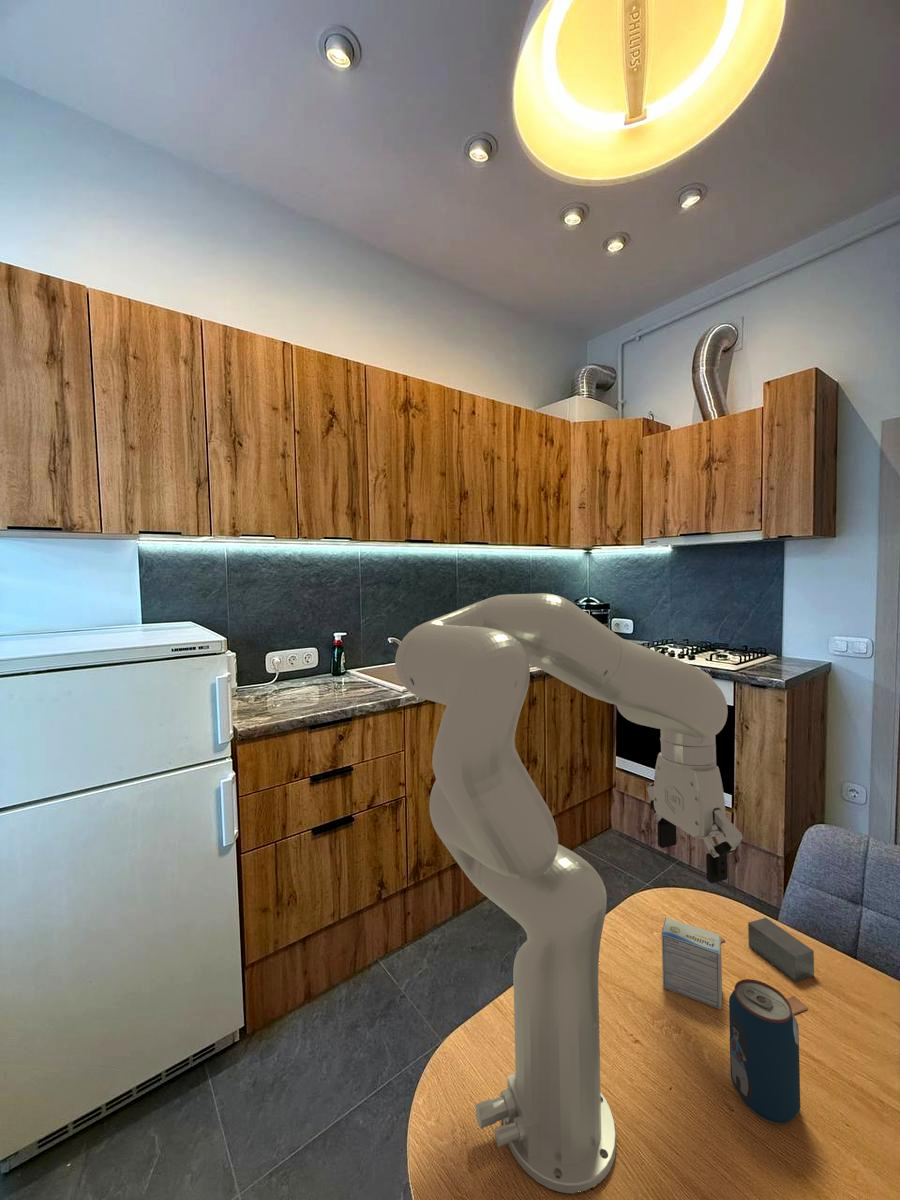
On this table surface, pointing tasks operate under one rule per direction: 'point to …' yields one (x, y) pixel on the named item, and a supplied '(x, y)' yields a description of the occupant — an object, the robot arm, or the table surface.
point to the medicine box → (692, 962)
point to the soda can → (764, 1051)
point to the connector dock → (782, 953)
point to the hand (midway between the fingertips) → (690, 861)
